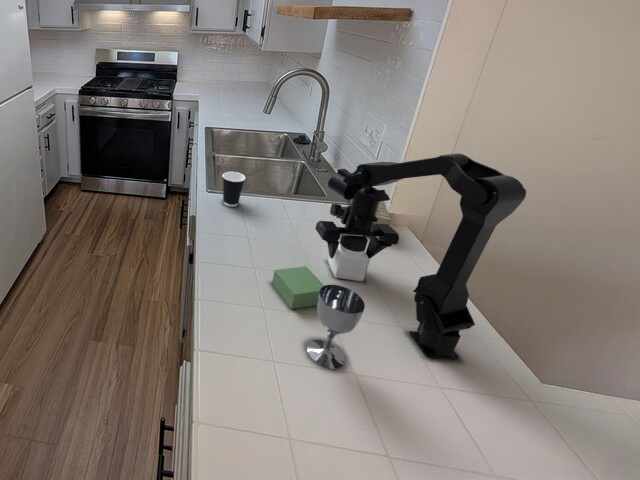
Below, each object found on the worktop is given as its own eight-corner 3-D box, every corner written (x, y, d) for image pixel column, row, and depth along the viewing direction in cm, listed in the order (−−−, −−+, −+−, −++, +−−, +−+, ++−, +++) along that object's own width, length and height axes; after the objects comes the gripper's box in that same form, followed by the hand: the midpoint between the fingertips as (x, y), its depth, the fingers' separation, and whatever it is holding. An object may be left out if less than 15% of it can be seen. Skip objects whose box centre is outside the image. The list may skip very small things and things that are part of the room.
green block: (324, 304, 94) (328, 289, 92) (291, 309, 92) (294, 294, 90) (302, 279, 102) (305, 266, 100) (271, 283, 100) (274, 269, 99)
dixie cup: (243, 209, 136) (247, 181, 132) (220, 208, 137) (224, 180, 132) (239, 198, 143) (243, 172, 139) (218, 197, 144) (221, 171, 140)
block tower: (348, 198, 146) (355, 235, 121) (353, 178, 143) (362, 211, 118) (372, 202, 143) (384, 241, 118) (378, 181, 140) (391, 217, 115)
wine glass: (323, 374, 76) (340, 317, 70) (296, 342, 83) (310, 288, 77) (355, 365, 78) (375, 309, 72) (327, 335, 85) (342, 281, 79)
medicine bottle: (363, 282, 101) (375, 244, 97) (334, 278, 103) (344, 240, 98) (354, 265, 108) (365, 229, 103) (327, 261, 109) (336, 225, 104)
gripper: (384, 195, 104) (369, 242, 110) (314, 192, 105) (303, 239, 112) (408, 216, 94) (390, 268, 100) (330, 213, 95) (317, 263, 101)
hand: (348, 258), depth 104 cm, fingers open, 9 cm apart
